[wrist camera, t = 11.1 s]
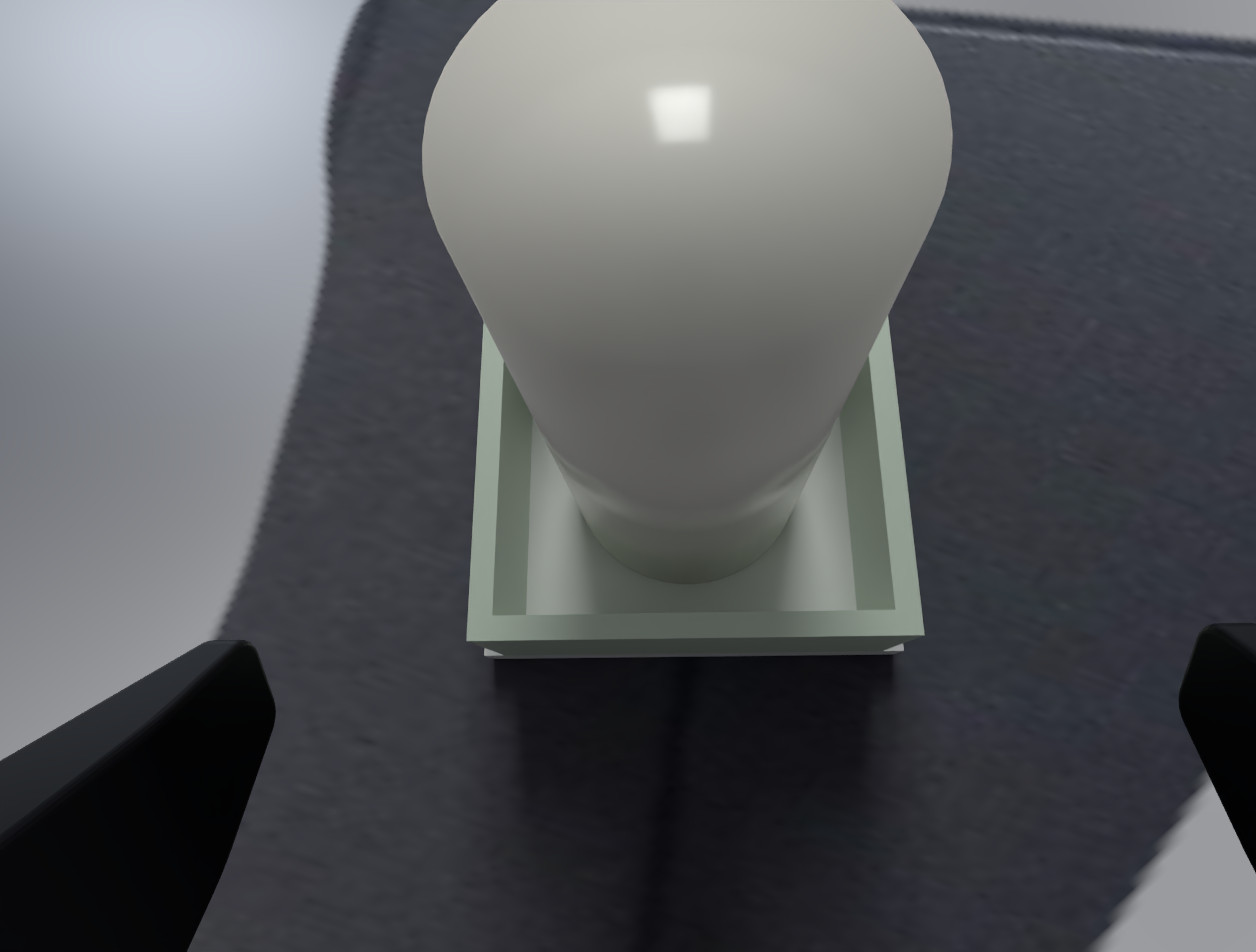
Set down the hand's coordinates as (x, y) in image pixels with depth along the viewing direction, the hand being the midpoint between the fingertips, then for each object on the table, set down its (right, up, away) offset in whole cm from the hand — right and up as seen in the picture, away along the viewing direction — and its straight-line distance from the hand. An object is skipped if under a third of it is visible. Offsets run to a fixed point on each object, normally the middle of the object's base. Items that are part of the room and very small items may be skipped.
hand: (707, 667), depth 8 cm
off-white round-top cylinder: (+1, +2, +13) cm, 13 cm away
